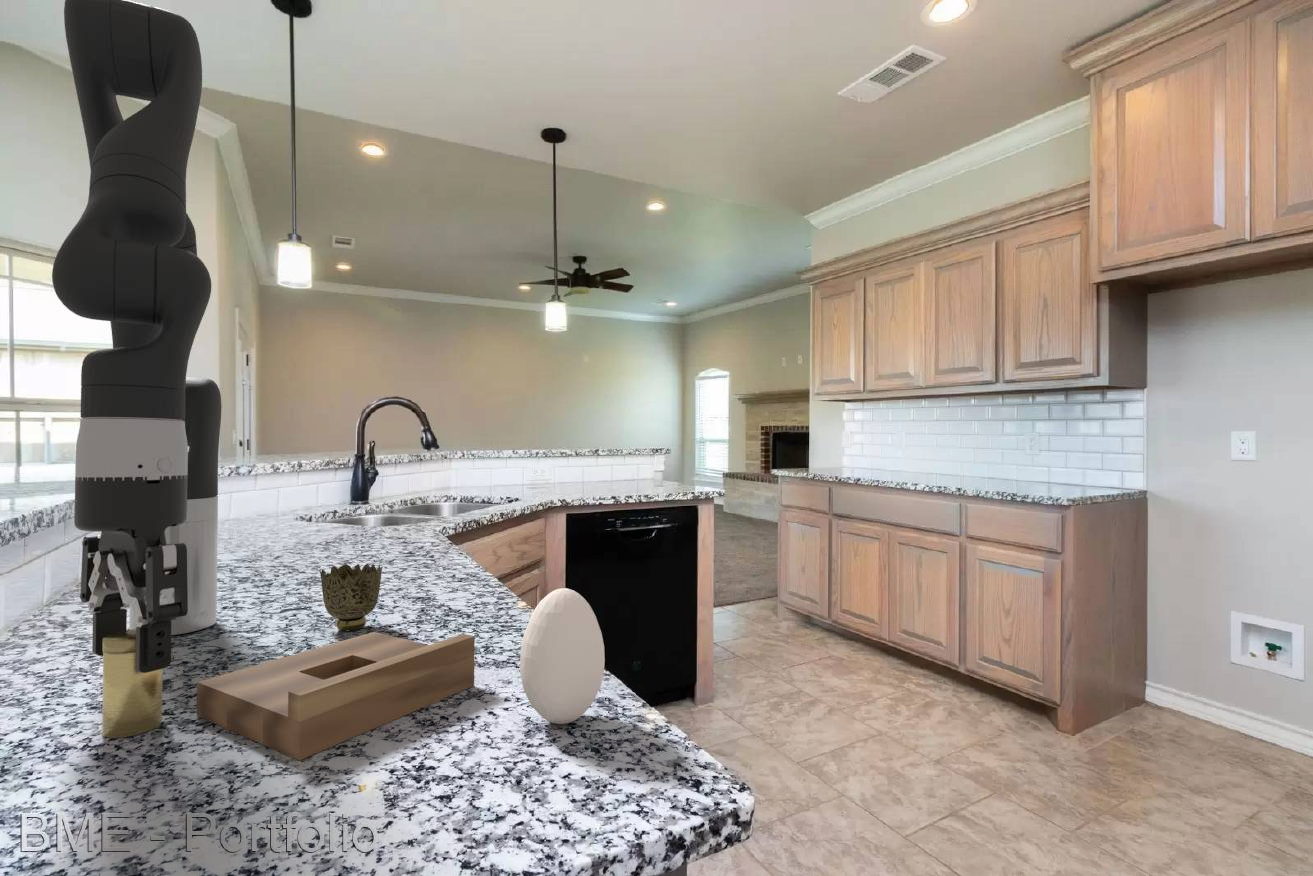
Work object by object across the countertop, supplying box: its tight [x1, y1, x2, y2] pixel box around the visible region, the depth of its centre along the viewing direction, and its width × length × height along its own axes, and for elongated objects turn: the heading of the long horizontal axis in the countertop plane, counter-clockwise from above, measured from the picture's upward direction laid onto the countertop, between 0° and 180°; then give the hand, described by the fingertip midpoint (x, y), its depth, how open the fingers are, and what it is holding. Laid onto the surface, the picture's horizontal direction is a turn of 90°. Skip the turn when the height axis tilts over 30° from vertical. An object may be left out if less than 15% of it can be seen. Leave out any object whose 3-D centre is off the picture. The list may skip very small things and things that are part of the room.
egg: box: [519, 587, 606, 725], centre depth 57 cm, size 7×7×12 cm
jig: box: [196, 631, 476, 761], centre depth 61 cm, size 16×18×5 cm
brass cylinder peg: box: [101, 629, 164, 739], centre depth 55 cm, size 4×4×8 cm
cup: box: [319, 563, 383, 632], centre depth 85 cm, size 8×7×8 cm
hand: (130, 661), depth 55 cm, fingers open, 8 cm apart
